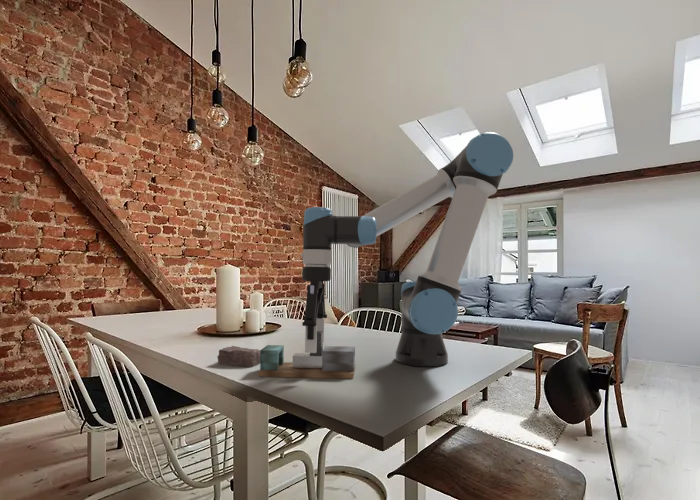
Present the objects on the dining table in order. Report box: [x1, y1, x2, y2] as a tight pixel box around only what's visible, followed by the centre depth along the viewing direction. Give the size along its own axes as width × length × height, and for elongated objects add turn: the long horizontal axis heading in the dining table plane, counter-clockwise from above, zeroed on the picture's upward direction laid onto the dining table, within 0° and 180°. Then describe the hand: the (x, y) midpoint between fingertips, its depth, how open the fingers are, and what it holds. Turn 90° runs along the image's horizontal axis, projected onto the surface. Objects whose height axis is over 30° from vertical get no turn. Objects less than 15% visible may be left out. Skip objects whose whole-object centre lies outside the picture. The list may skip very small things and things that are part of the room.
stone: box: [216, 345, 261, 368], centre depth 113 cm, size 9×12×5 cm
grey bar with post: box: [292, 331, 356, 368], centre depth 103 cm, size 16×3×9 cm, turn 86°
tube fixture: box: [257, 344, 356, 379], centre depth 103 cm, size 24×10×6 cm, turn 86°
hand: (315, 347), depth 103 cm, fingers open, 13 cm apart
